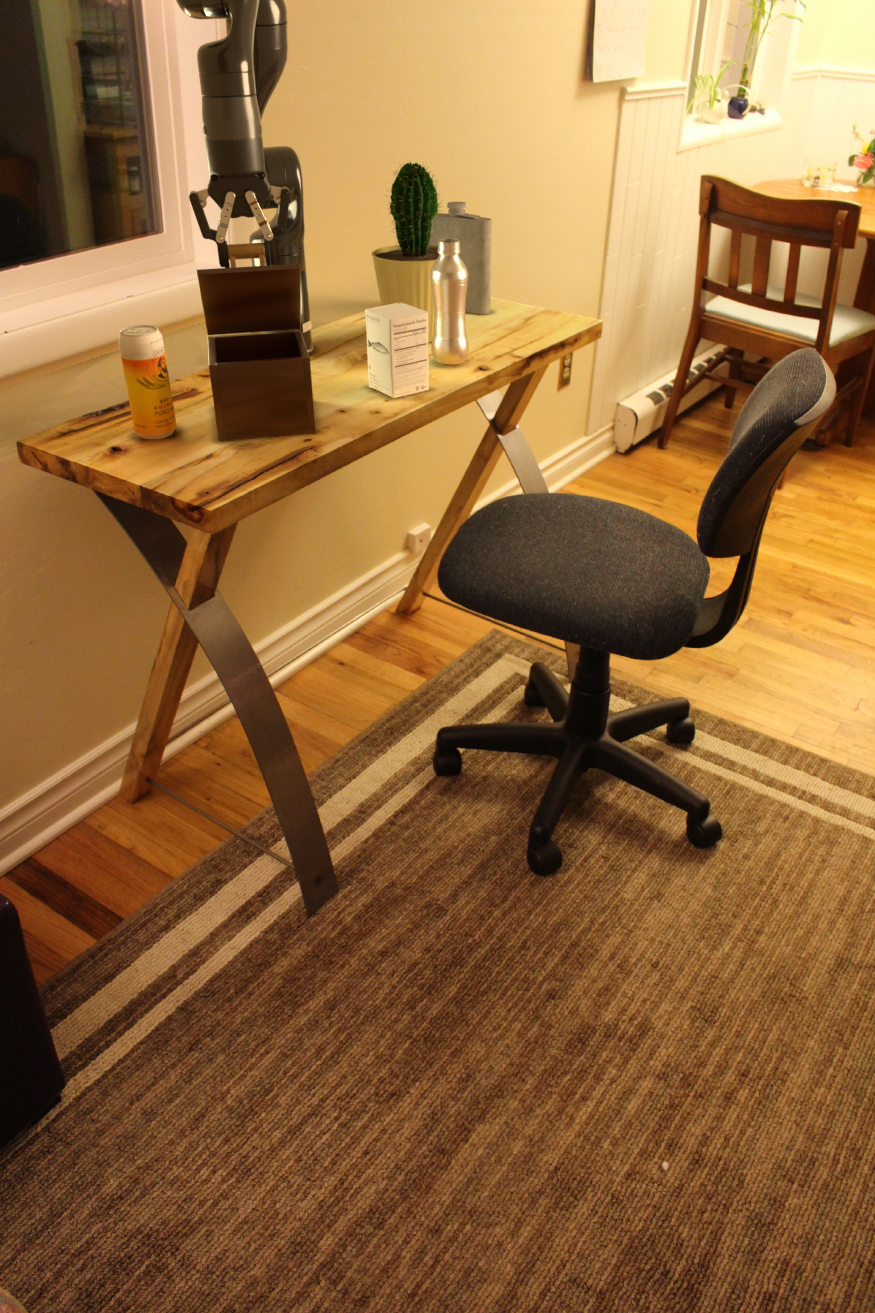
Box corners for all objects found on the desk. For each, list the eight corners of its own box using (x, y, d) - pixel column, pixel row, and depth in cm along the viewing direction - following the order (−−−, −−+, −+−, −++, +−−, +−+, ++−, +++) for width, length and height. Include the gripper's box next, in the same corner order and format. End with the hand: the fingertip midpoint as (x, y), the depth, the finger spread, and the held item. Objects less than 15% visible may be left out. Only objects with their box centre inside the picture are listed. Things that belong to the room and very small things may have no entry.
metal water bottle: (442, 370, 174) (441, 246, 163) (424, 360, 179) (422, 239, 168) (475, 364, 176) (476, 241, 165) (457, 355, 181) (456, 234, 170)
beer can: (167, 441, 148) (149, 336, 140) (128, 439, 149) (108, 334, 141) (184, 426, 153) (168, 324, 144) (146, 424, 154) (128, 323, 146)
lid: (300, 268, 140) (295, 232, 142) (196, 274, 138) (192, 237, 139) (300, 329, 156) (296, 296, 157) (207, 335, 154) (203, 301, 155)
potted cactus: (358, 334, 193) (348, 159, 177) (419, 319, 202) (415, 150, 185) (412, 351, 183) (407, 167, 167) (474, 334, 192) (474, 158, 176)
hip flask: (418, 305, 211) (415, 200, 200) (428, 301, 214) (426, 197, 203) (485, 315, 204) (486, 206, 193) (495, 310, 207) (496, 203, 196)
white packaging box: (367, 387, 167) (363, 308, 160) (405, 378, 170) (402, 300, 163) (392, 399, 162) (388, 317, 155) (430, 390, 165) (429, 309, 158)
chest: (316, 432, 150) (309, 357, 144) (219, 441, 147) (208, 365, 142) (306, 400, 162) (300, 329, 156) (217, 407, 160) (207, 336, 154)
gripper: (285, 129, 139) (297, 261, 148) (178, 133, 137) (196, 266, 146) (289, 134, 133) (301, 271, 142) (177, 138, 131) (196, 277, 140)
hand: (247, 268), depth 144 cm, fingers closed on lid, 5 cm apart
